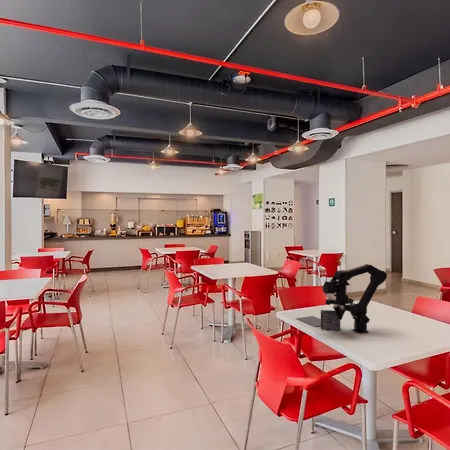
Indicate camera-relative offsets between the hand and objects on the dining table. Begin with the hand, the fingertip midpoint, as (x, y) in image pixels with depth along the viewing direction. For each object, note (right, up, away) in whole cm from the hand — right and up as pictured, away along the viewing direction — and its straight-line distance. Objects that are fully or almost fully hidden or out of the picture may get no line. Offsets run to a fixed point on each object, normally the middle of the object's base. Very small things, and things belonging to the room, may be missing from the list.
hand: (340, 319), depth 190 cm
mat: (-10, -7, +20) cm, 24 cm away
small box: (-4, -8, +7) cm, 11 cm away
